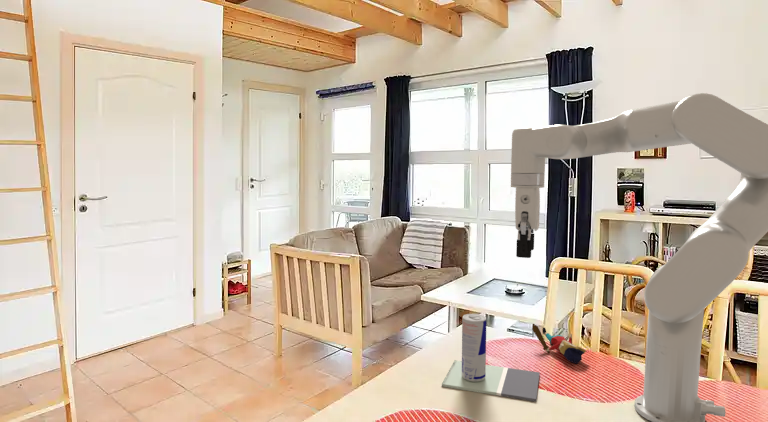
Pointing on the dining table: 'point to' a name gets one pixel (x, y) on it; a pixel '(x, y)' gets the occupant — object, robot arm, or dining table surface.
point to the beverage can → (474, 347)
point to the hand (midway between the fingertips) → (525, 253)
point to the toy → (560, 345)
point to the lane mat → (496, 382)
